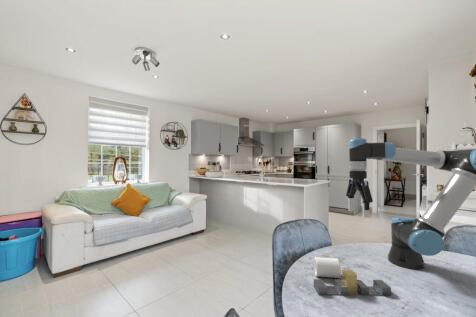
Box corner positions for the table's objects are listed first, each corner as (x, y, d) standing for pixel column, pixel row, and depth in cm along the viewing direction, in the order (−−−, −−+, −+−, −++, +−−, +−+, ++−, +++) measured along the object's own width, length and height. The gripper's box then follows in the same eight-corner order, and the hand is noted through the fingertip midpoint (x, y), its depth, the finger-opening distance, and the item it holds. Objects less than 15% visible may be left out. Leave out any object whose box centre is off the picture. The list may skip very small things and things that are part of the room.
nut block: (352, 287, 93) (352, 270, 93) (357, 293, 89) (357, 275, 89) (342, 287, 93) (342, 270, 93) (346, 293, 89) (346, 274, 89)
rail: (381, 287, 94) (381, 279, 94) (391, 295, 88) (391, 287, 88) (313, 286, 94) (313, 279, 94) (318, 294, 88) (318, 287, 88)
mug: (341, 281, 98) (340, 263, 99) (317, 279, 100) (316, 261, 100) (334, 269, 110) (334, 252, 110) (312, 267, 112) (312, 251, 112)
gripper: (339, 169, 124) (339, 208, 123) (364, 171, 99) (364, 220, 98) (353, 169, 123) (353, 208, 123) (381, 171, 98) (382, 220, 98)
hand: (358, 213), depth 110 cm, fingers open, 13 cm apart
